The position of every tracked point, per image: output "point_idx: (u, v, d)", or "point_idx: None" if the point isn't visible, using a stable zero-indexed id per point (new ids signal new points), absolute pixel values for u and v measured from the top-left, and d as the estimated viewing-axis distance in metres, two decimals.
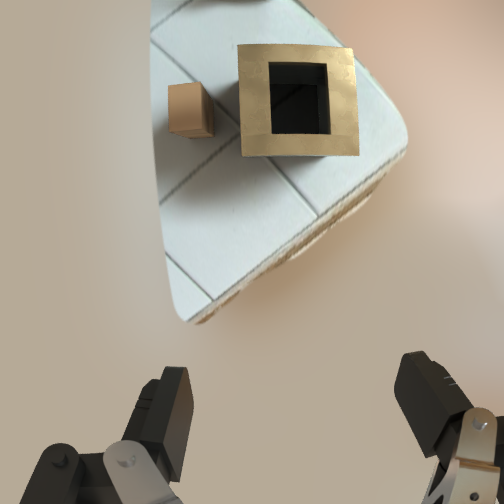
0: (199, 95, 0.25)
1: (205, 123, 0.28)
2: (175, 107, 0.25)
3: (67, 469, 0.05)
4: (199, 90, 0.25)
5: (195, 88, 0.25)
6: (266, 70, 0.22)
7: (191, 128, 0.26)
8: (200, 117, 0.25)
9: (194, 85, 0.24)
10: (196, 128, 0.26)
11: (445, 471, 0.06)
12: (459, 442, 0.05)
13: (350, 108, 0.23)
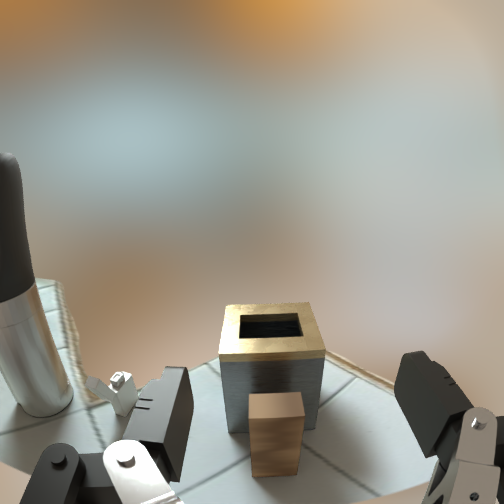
0: (264, 394, 0.25)
1: None
2: (276, 412, 0.23)
3: (67, 469, 0.05)
4: (258, 394, 0.25)
5: (256, 397, 0.24)
6: (247, 339, 0.30)
7: (300, 398, 0.24)
8: (288, 393, 0.25)
9: (252, 398, 0.24)
10: (300, 396, 0.24)
11: (445, 471, 0.06)
12: (459, 442, 0.05)
13: (275, 306, 0.36)
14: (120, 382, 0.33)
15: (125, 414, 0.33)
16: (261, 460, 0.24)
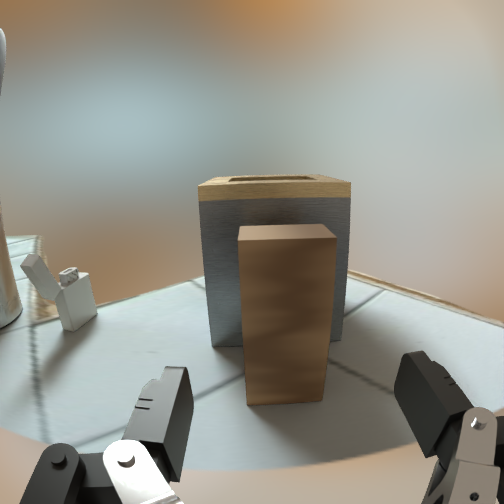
0: (265, 226, 0.17)
1: None
2: (286, 235, 0.14)
3: (67, 469, 0.05)
4: None
5: (252, 227, 0.16)
6: (239, 181, 0.22)
7: (324, 227, 0.16)
8: (303, 225, 0.17)
9: (245, 228, 0.16)
10: None
11: (445, 471, 0.06)
12: (459, 442, 0.05)
13: (276, 175, 0.28)
14: (71, 278, 0.25)
15: (74, 328, 0.24)
16: (262, 360, 0.16)
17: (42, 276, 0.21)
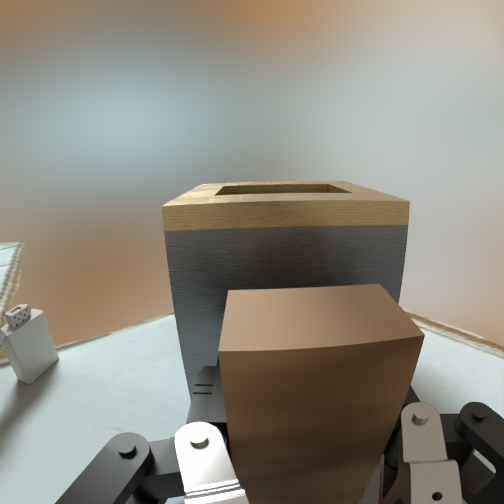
0: (275, 290, 0.09)
1: None
2: (324, 330, 0.07)
3: (138, 458, 0.06)
4: (258, 290, 0.09)
5: (250, 295, 0.08)
6: (232, 195, 0.14)
7: (387, 296, 0.08)
8: (347, 288, 0.09)
9: (238, 298, 0.08)
10: None
11: (394, 469, 0.07)
12: (403, 443, 0.06)
13: (286, 181, 0.20)
14: (20, 320, 0.17)
15: (29, 380, 0.17)
16: (267, 497, 0.08)
17: None
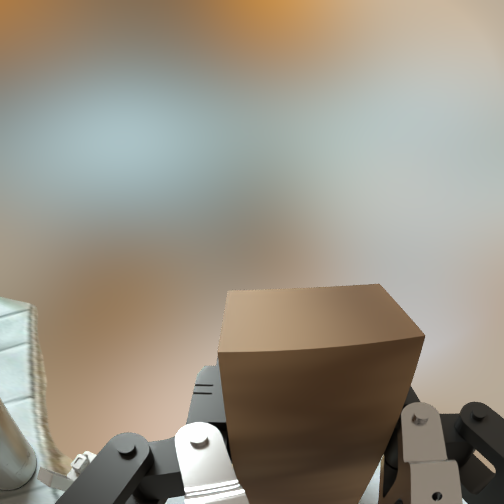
0: (275, 291, 0.09)
1: None
2: (324, 331, 0.06)
3: (138, 458, 0.06)
4: (258, 290, 0.09)
5: (250, 296, 0.08)
6: None
7: (388, 296, 0.08)
8: (347, 288, 0.09)
9: (237, 298, 0.08)
10: None
11: (393, 469, 0.07)
12: (403, 443, 0.06)
13: None
14: (84, 468, 0.20)
15: None
16: (267, 497, 0.08)
17: (60, 486, 0.16)
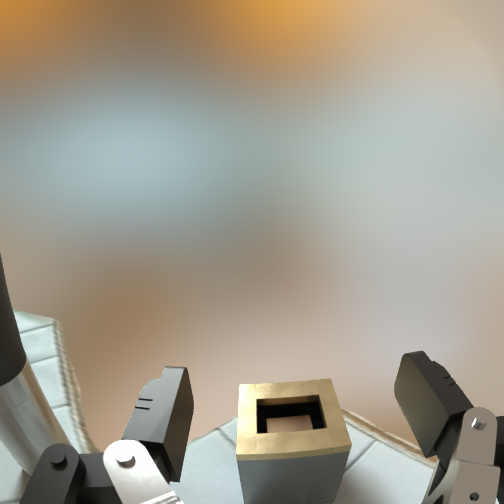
0: (279, 418, 0.29)
1: None
2: None
3: (67, 469, 0.05)
4: (274, 418, 0.29)
5: (272, 421, 0.28)
6: (266, 434, 0.24)
7: (309, 420, 0.28)
8: (299, 416, 0.29)
9: (269, 422, 0.28)
10: (309, 418, 0.28)
11: (445, 471, 0.06)
12: (459, 442, 0.05)
13: (294, 385, 0.31)
14: None
15: None
16: None
17: None
